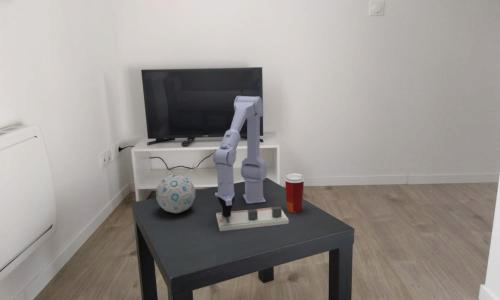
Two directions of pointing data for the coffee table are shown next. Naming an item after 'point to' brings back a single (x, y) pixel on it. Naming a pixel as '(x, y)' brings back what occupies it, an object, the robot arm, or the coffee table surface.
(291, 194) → the paper cup
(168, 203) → the puzzle ball
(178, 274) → the coffee table surface
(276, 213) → the block
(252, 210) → the breaker
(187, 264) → the coffee table surface
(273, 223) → the breaker panel
